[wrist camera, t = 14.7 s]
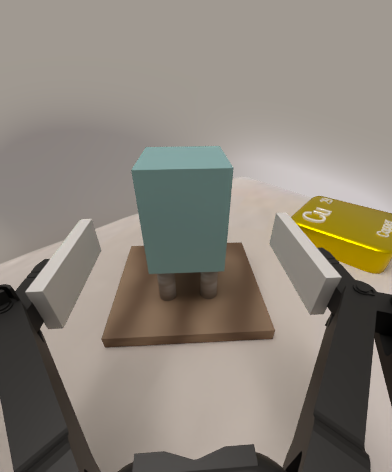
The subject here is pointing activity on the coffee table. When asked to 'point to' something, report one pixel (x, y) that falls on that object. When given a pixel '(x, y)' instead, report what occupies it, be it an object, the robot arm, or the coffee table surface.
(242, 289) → the peg board
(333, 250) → the element tile
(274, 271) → the coffee table surface
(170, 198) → the teal block
